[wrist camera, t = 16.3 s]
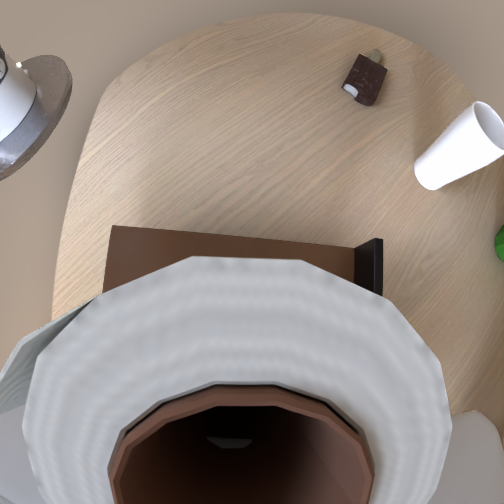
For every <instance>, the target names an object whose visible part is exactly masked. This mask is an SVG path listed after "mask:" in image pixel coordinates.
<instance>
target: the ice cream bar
mask: <svg viewBox="0 0 504 504" xmlns="http://www.w3.org/2000/svg"><path fill="white" fill-rule="evenodd" d="M381 56H382V53H381V52H380V51H379V50H377V49H374V50H373V51H372V53H371V55H370V58H367V57H365V56H363V55H361V54H359V56H358V57H357V59H356V61H355V63H354V65H353V67H352V69H351V70H350V72H349V74H348V76H347V78H346V80H345V81H344V83H343V85H342V87H341V88H342V89H343V90H345V91H347V92H349V93H350V94H352V95H353V96H354V98H355V100H356V101H358V102H359V103H361V104H363V105H366V106H371V105H372V104H373V103H374V102H375V100H376V98H377V95H378V93H379V90H380V88H381V85H382V83H383V80H384V77H385V75H386V72H387V69H386V68H384V67H383V66H381V65H379V64H378V63H379V60H380V58H381Z"/></svg>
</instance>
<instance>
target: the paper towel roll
mask: <svg viewBox="0 0 504 504" xmlns="http://www.w3.org/2000/svg"><path fill="white" fill-rule="evenodd" d="M24 404H26V406H25V411H24V417H23V422H22V430H23V435H24V440H25V444H26V448H27V452H28V456H29V460H30V464H31V467H32V471H33V474H34V478H35V481H36V484H37V487H38V490H39V493H40V494H41V496H42V497H43V499H44V500H45V502H46V503H47V504H427V503H428V502H429V500H430V499H431V497H432V496H433V494H434V492H435V491H436V489H437V486H438V483H439V480H440V476H441V473H442V469H443V466H444V462H445V458H446V454H447V450H448V446H449V441H450V437H451V432H452V421H451V415H450V409H449V403H448V398H447V393H446V388H445V383H444V378H443V374H442V370H441V365H440V361H439V360H438V359H437V357H436V356H435V355H434V354H433V352H432V351H431V350H430V348H429V347H428V346H427V345H426V343H425V342H424V341H423V340H422V338H421V337H420V336H419V335H418V333H417V332H416V331H415V330H414V328H413V327H412V326H411V325H410V324H409V322H408V321H407V320H406V319H405V318H404V316H403V315H402V314H401V313H400V312H399V310H398V309H397V308H396V307H395V306H394V305H393V303H392V302H391V301H390V300H388V299H386V298H384V297H382V296H379V295H377V294H375V293H373V292H371V291H369V290H366V289H364V288H362V287H360V286H358V285H356V284H353V283H351V282H349V281H347V280H345V279H343V278H340V277H338V276H336V275H334V274H332V273H329V272H327V271H325V270H323V269H321V268H318V267H316V266H314V265H312V264H310V263H307V262H305V261H303V260H301V259H270V258H238V257H208V256H191V257H189V258H186V259H184V260H181V261H179V262H176V263H174V264H172V265H169V266H167V267H164V268H162V269H159V270H157V271H155V272H152V273H150V274H147V275H145V276H143V277H140V278H138V279H136V280H133V281H131V282H128V283H126V284H124V285H121V286H119V287H117V288H114V289H112V290H110V291H107V292H105V293H103V294H100V295H98V296H96V297H94V298H93V299H91V300H89V301H87V302H85V303H83V304H82V305H80V306H78V307H76V308H74V309H73V310H71V311H69V312H67V313H65V314H64V315H62V316H60V317H58V318H57V319H55V320H53V321H51V322H50V323H48V324H46V325H44V326H43V327H41V328H39V329H37V330H36V331H34V332H32V333H30V334H29V335H27V336H25V337H24V338H22V339H20V340H19V342H18V343H17V345H16V347H15V349H14V350H13V352H12V353H11V355H10V357H9V358H8V360H7V362H6V364H5V365H4V367H3V369H2V371H1V372H0V414H2V413H5V412H7V411H9V410H12V409H14V408H17V407H19V406H21V405H24ZM207 436H211V437H223V438H239V439H252V442H251V443H250V444H249V445H247V446H246V447H244V448H221V447H219V446H217V445H215V444H214V443H212V442H210V441H209V440H208V439H207V438H206V437H207Z"/></svg>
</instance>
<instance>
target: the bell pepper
mask: <svg viewBox="0 0 504 504" xmlns="http://www.w3.org/2000/svg"><path fill="white" fill-rule="evenodd" d="M495 249H496V253H497V256H498V257H499V258H500V259H501V260H503V261H504V225H503V226H502V227H501V229H500V231H499V232H498V234H497V236H496V238H495Z"/></svg>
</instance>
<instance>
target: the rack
mask: <svg viewBox="0 0 504 504" xmlns="http://www.w3.org/2000/svg"><path fill="white" fill-rule="evenodd" d="M191 256H208V257H238V258H270V259H301V260H303V261H305V262H307V263H310V264H312V265H314V266H316V267H318V268H321V269H323V270H325V271H327V272H329V273H332V274H334V275H336V276H338V277H340V278H343V279H345V280H347V281H349V282H351V283H353V284H356V285H358V286H360V287H362V288H364V289H366V290H369V291H371V292H373V293H375V294H377V295H379V296H382V294H383V239H379V238H374V239H372V240H370V241H368V242H366V243H364V244H362V245H360V246H358V247H356V248H349V247H339V246H330V245H320V244H311V243H301V242H291V241H282V240H271V239H261V238H251V237H241V236H230V235H220V234H209V233H198V232H187V231H175V230H164V229H152V228H140V227H128V226H116V225H112V229H111V234H110V240H109V246H108V253H107V260H106V267H105V275H104V283H103V292H102V294H103V293H105V292H107V291H110V290H112V289H114V288H117V287H119V286H121V285H124V284H126V283H128V282H131V281H133V280H136V279H138V278H140V277H143V276H145V275H147V274H150V273H152V272H155V271H157V270H159V269H162V268H164V267H167V266H169V265H172V264H174V263H176V262H179V261H181V260H184V259H186V258H189V257H191Z"/></svg>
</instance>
